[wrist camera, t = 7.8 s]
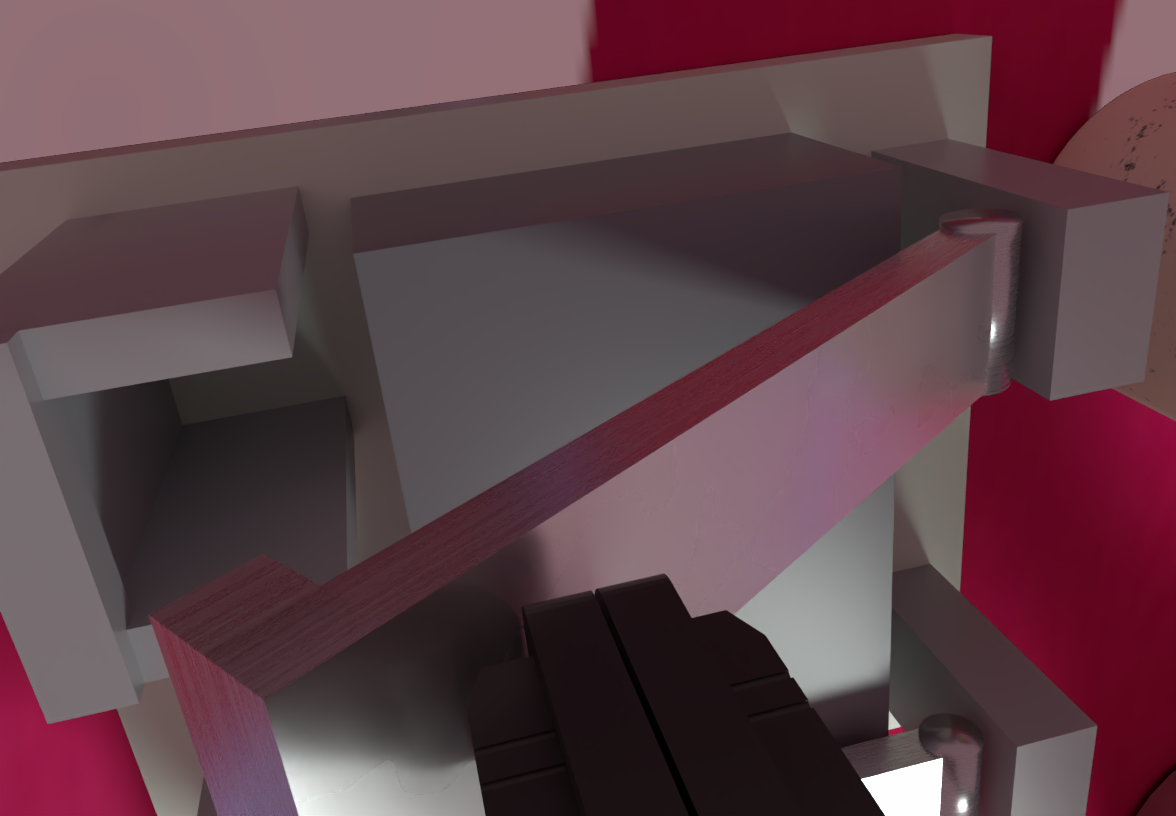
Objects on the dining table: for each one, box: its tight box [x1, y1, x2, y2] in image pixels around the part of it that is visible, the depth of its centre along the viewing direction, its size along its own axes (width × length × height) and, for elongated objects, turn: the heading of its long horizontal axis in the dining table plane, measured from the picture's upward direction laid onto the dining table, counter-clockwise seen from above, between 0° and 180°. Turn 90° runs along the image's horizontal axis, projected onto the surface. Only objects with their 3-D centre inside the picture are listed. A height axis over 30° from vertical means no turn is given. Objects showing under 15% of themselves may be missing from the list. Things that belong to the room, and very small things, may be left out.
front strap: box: [148, 208, 1023, 816], centre depth 14 cm, size 16×3×2 cm
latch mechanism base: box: [0, 34, 1170, 816], centre depth 22 cm, size 23×20×10 cm
